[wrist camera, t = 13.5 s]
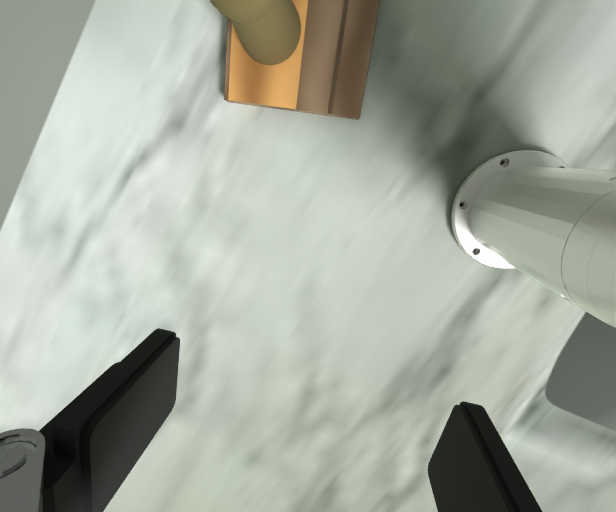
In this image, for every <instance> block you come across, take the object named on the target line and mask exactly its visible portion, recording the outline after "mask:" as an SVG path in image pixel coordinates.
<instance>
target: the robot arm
mask: <svg viewBox="0 0 616 512" xmlns="http://www.w3.org/2000/svg"><path fill="white" fill-rule="evenodd" d="M501 160H502V161H503V163H502V164H501V165H500V162H501ZM461 202H462V203H463V205H462V206H459V205H460V203H461ZM451 224H452V230H453V233H454V237H455V239H456V240H457V242H458V244H459V246H460V247H461V248H462V249H463V250H464V251H465V253H467V254H468V255H469V256H470V257H472V258H473V259H475V260H476V261H478V262H480V263H481V264H484V265H487V266H490V267H495V268H501V269H509V268H516V269H518V270H520V271H521V272H523V273H525V274H526V275H528V276H529V277H531V278H533V279H534V280H536V281H537V282H539V283H541V284H542V285H544V286H546V287H547V288H549V289H550V290H552V291H554V292H555V293H557V294H559V295H560V296H562V297H563V298H565V299H567V300H568V301H570V302H571V303H573V304H575V305H577V306H578V307H580V308H581V309H583V310H585V311H587V312H588V313H590V314H592V315H593V316H595V317H597V318H598V319H600V320H602V321H603V322H605V323H607V324H609V325H611V326H613V327H615V328H616V170H598V169H574V168H570V167H569V166H568V165H567V164H566V163H564V162H563V161H562V160H561V159H559V158H557V157H555V156H553V155H551V154H549V153H545V152H541V151H532V150H521V151H512V152H508V153H504V154H501V155H498V156H496V157H494V158H491V159H489V160H488V161H486V162H485V163H483V164H482V165H480V166H479V167H477V168H476V169H475V170H474V171H473V172H472V173H471V174H470V175H469V176H468V177H467V178H466V180H465V181H464V182H463V184H462V185H461V187H460V189H459V190H458V192H457V194H456V197H455V200H454V203H453V206H452V213H451ZM474 248H475V250H474V251H472V250H473V249H474ZM179 348H180V339H179V338H178V337H176V333H175V332H172V331H168V330H164V329H156V330H155V331H154V332H152V333H151V334H150V335H149V336H148V337H147V338H146V339H145V340H144V341H143V342H142V343H140V344H139V345H138V346H137V347H136V348H135V349H134V350H133V351H132V352H131V353H129V354H128V355H127V356H126V357H125V358H124V359H123V360H122V361H121V362H118V363H115V364H114V365H112V366H111V367H110V368H109V369H108V370H106V371H105V372H104V373H103V374H102V375H101V376H100V377H99V378H97V379H96V380H95V381H94V382H93V383H92V384H91V385H90V386H89V387H87V388H86V389H85V390H84V391H83V392H82V393H81V394H80V395H79V396H77V397H76V398H75V399H74V400H73V401H72V402H71V403H70V404H69V405H67V406H66V407H65V408H64V409H63V410H62V411H61V412H60V413H58V414H57V415H56V416H55V417H54V418H53V419H52V420H51V421H50V422H48V423H47V424H46V425H45V426H44V427H43V428H42V429H41V430H40V431H36V430H33V429H22V428H21V429H15V430H9V431H6V432H3V433H0V512H103V511H104V509H105V508H106V506H107V505H108V503H109V502H110V501H111V499H112V498H113V496H114V495H115V493H116V492H117V490H118V489H119V487H120V486H121V484H122V483H123V481H124V480H125V478H126V477H127V476H128V474H129V473H130V471H131V470H132V468H133V467H134V465H135V464H136V462H137V461H138V459H139V458H140V456H141V455H142V453H143V452H144V451H145V449H146V448H147V446H148V445H149V443H150V442H151V440H152V439H153V437H154V436H155V434H156V433H157V431H158V430H159V428H160V427H161V426H162V424H163V423H164V421H165V420H166V418H167V417H168V415H169V414H170V412H171V411H172V409H173V407H174V404H175V400H176V388H177V375H178V362H179ZM428 475H429V479H430V483H431V487H432V491H433V494H434V498H435V502H436V506H437V509H438V512H542V510H541V509H540V507H539V505H538V503H537V501H536V500H535V498H534V496H533V494H532V493H531V491H530V489H529V487H528V485H527V484H526V482H525V480H524V478H523V476H522V475H521V473H520V471H519V469H518V468H517V466H516V464H515V462H514V460H513V459H512V457H511V455H510V453H509V452H508V450H507V448H506V446H505V444H504V443H503V441H502V439H501V437H500V436H499V434H498V432H497V430H496V428H495V427H494V425H493V423H492V421H491V420H490V418H489V416H488V414H487V412H486V411H485V409H484V408H483V407H482V406H481V405H476V404H472V403H468V402H461V403H460V404H459V405H455V406H454V408H453V410H452V412H451V414H450V417H449V419H448V421H447V423H446V426H445V428H444V430H443V432H442V435H441V437H440V439H439V441H438V444H437V446H436V448H435V450H434V453H433V455H432V457H431V459H430V462H429V465H428Z"/></svg>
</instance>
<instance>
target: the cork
mask: <svg viewBox="0 0 616 512" xmlns="http://www.w3.org/2000/svg"><path fill="white" fill-rule="evenodd" d="M210 1H211V3H212V4H213V5H214V6H215V7H216V8H217V9H218V10H219V11H220V12H221V13H222V14H223V15H224V16H226V17H228V18H230V19H231V21H232V23H233V26H234V28H235V30H236V32H237V35H238V37H239V39H240V41H241V43H242V45H243V47H244V49H245V51H246V53H247V54H248V55H249V56H250V57H251V58H252V59H253V60H255V61H257V62H259V63H260V64H264V65H271V66H272V65H276V64H280V63H282V62H284V61H285V60H287V59H288V58H289V57H290V56H291V55H292V54H293V52H294V51H295V50H296V48H297V45H298V43H299V40H300V35H301V22H300V16H299V13H298V11H297V9H296V7H295V5H294V3H293V2H292V0H210Z"/></svg>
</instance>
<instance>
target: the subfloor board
mask: <svg viewBox="0 0 616 512" xmlns="http://www.w3.org/2000/svg"><path fill="white" fill-rule="evenodd" d="M292 2H293V3H294V5H295V7H296V9H297V11H298V13H299V16H300V22H301V35H300V40H299V43H298V45H297V48H296V50H295V51H294V52H293V54H292V55H291V56H290V57H289V58H288V59H287V60H285V61H284V62H282V63H280V64H276V65H272V66H271V65H264V64H260V63H259V62H257V61H255V60H253V59H252V58H251V57H250V56H249V55H248V54H247V53H246V51H245V49H244V47H243V45H242V43H241V41H240V39H239V37H238V35H237V32H236V30H235V28H234V26H233V23H232V21H231V19H230V18H228V25H227V47H226V68H225V90H224V100H226V101H228V102H232V103H239V104H247V105H254V106H261V107H269V108H276V109H283V110H291V111H298V112H305V113H312V114H320V115H327V116H334V117H342V118H349V119H356V120H359V118H360V113H361V107H362V101H363V96H364V90H365V84H366V78H367V72H368V67H369V61H370V55H371V49H372V44H373V38H374V32H375V26H376V20H377V15H378V9H379V3H380V0H292Z"/></svg>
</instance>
